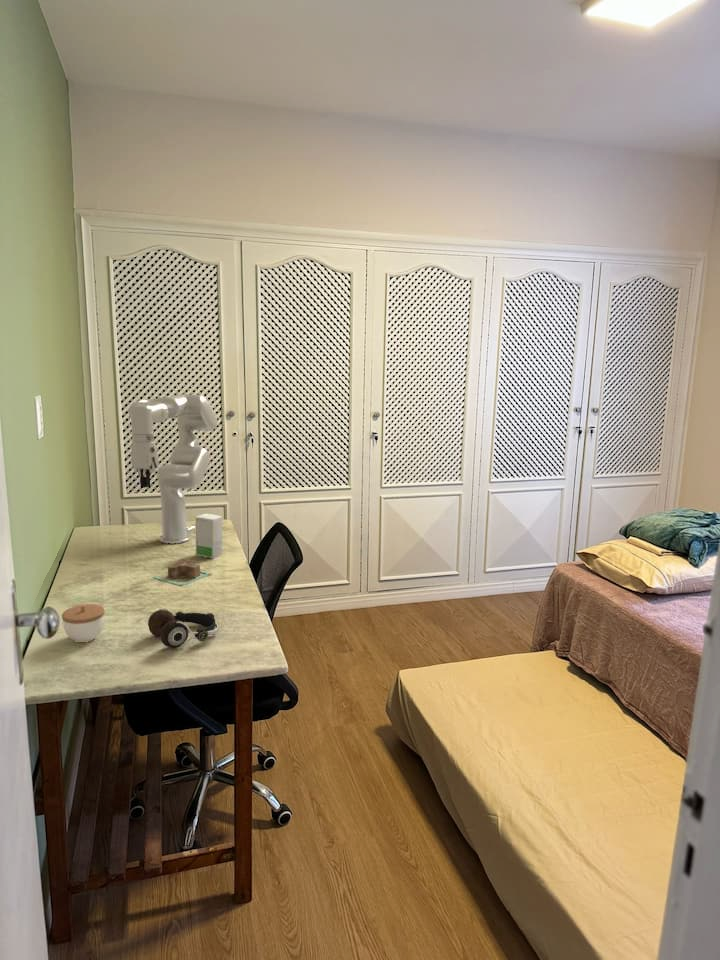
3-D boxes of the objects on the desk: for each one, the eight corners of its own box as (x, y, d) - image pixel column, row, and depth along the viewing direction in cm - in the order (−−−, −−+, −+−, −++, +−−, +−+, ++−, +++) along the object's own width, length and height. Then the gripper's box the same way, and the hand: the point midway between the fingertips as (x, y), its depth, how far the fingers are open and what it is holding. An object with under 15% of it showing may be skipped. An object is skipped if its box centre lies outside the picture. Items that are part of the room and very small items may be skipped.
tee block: (168, 577, 225) (167, 566, 224) (183, 569, 234) (182, 559, 233) (190, 581, 222) (190, 570, 222) (204, 572, 231) (204, 562, 230)
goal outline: (183, 566, 237) (183, 566, 237) (211, 574, 229) (211, 573, 229) (153, 577, 225) (153, 577, 225) (181, 586, 218) (181, 585, 218)
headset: (143, 605, 181) (208, 599, 194) (140, 632, 182) (206, 624, 195) (168, 626, 168) (236, 618, 181) (165, 654, 169) (233, 644, 182)
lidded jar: (114, 632, 183) (112, 600, 181) (90, 649, 172) (87, 616, 171) (80, 627, 185) (78, 596, 183) (55, 644, 175) (52, 611, 173)
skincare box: (195, 556, 249) (193, 516, 245) (205, 551, 255) (204, 512, 251) (213, 559, 246) (212, 519, 242) (223, 554, 252) (222, 515, 248)
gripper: (164, 438, 238) (167, 487, 242) (137, 435, 246) (140, 482, 249) (148, 441, 232) (150, 491, 235) (121, 437, 239) (124, 485, 243)
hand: (145, 486), depth 242 cm, fingers closed
